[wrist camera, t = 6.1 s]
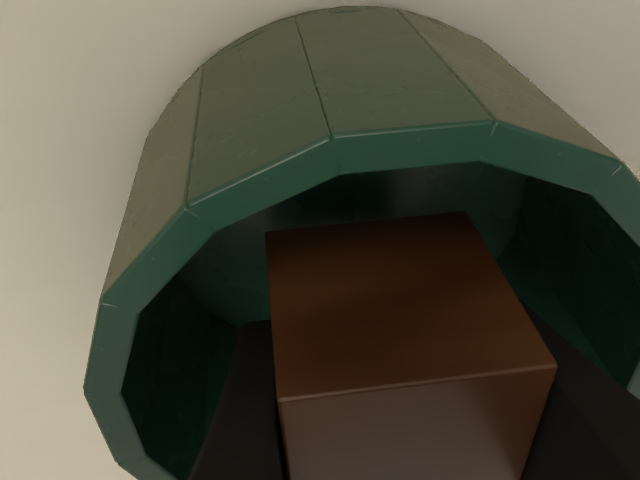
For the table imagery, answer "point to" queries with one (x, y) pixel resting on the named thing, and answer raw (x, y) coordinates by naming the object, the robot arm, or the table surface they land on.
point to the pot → (345, 206)
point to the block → (401, 353)
